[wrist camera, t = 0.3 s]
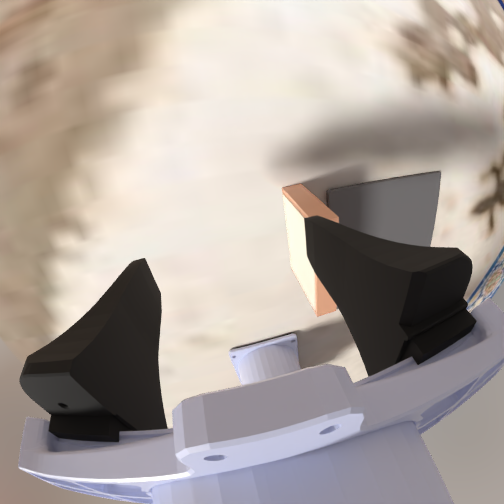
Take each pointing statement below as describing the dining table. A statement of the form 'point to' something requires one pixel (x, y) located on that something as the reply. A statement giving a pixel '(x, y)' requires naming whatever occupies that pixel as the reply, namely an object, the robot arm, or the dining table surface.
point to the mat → (390, 207)
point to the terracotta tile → (296, 209)
